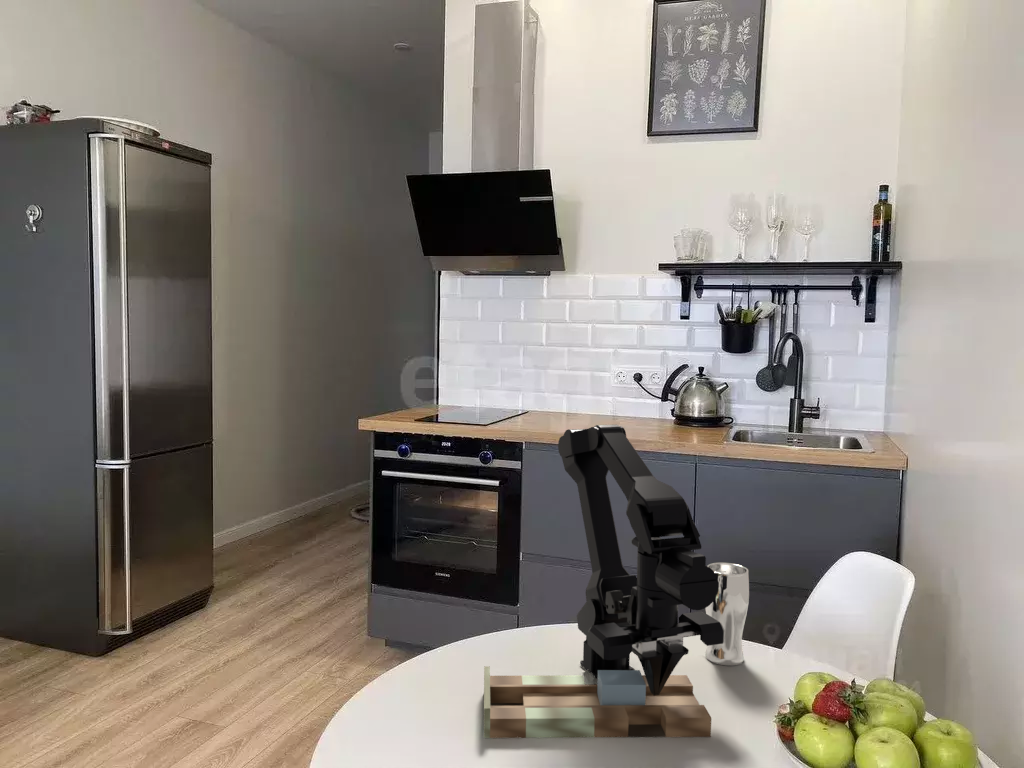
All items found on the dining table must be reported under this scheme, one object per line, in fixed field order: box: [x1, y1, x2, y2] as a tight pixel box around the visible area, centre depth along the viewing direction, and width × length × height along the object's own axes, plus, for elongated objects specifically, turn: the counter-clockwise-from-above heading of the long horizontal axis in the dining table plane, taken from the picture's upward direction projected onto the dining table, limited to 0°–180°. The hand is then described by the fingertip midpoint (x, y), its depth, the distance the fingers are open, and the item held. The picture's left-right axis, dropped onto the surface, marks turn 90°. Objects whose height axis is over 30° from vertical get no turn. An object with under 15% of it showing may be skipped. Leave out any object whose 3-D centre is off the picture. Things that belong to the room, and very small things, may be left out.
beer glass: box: [704, 562, 750, 667], centre depth 125 cm, size 7×7×15 cm
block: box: [596, 669, 646, 705], centre depth 107 cm, size 6×4×4 cm
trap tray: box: [483, 665, 712, 739], centre depth 107 cm, size 30×12×4 cm, turn 92°
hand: (654, 694), depth 107 cm, fingers closed
